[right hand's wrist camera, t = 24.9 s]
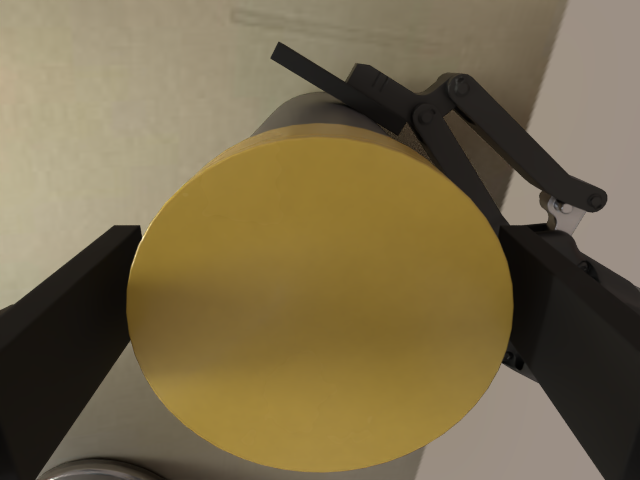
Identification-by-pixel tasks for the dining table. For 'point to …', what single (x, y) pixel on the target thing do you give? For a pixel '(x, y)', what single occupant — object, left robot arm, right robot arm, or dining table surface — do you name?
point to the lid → (319, 300)
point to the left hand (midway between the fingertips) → (234, 137)
